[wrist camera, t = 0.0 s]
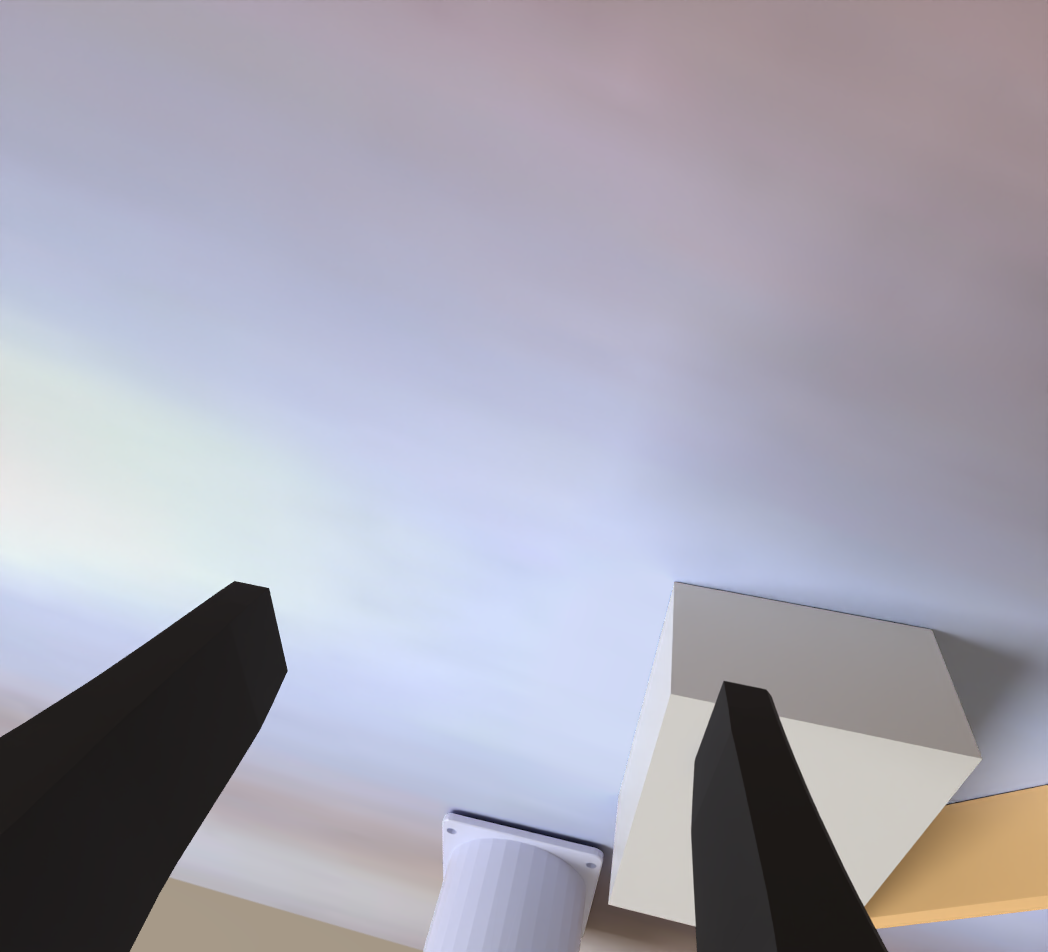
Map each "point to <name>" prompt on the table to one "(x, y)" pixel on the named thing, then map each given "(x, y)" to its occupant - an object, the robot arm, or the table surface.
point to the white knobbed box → (791, 735)
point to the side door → (971, 863)
